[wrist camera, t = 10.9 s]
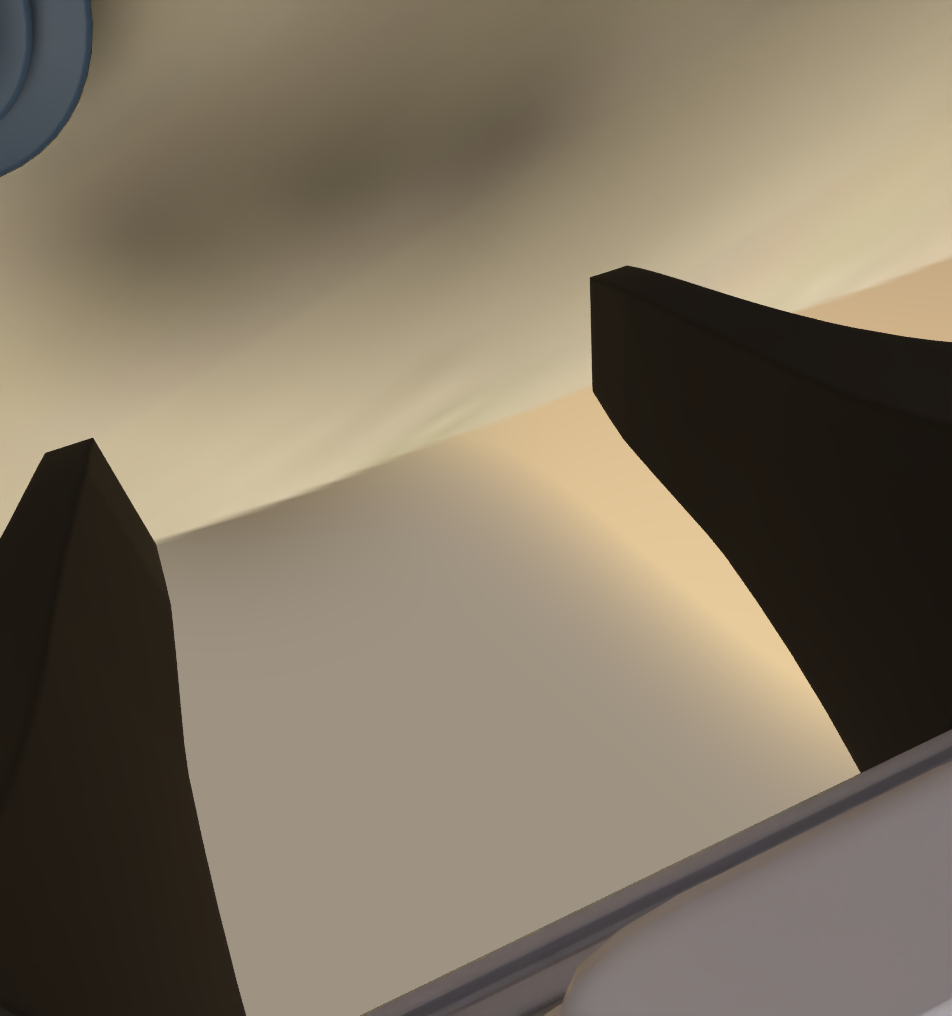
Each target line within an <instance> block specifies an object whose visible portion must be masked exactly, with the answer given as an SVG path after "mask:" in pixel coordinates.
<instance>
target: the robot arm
mask: <svg viewBox="0 0 952 1016" xmlns="http://www.w3.org/2000/svg"><path fill="white" fill-rule="evenodd" d="M590 301H591V344H592V386H593V392H594V394H595V396H596V397H597V399H598V400H599V402H600V404H601V405H602V407H603V409H604V410H605V412H606V413H607V415H608V417H609V418H610V420H611V421H612V423H613V424H614V426H615V427H616V428H617V430H618V432H619V433H620V435H621V436H622V438H623V439H624V440H625V441H626V443H627V444H628V445H629V446H630V447H631V449H632V450H633V451H634V452H635V453H636V454H637V456H638V457H639V458H640V459H641V460H642V461H643V462H644V464H646V466H647V467H648V468H649V469H650V470H651V472H652V473H653V474H654V475H655V476H656V477H657V478H658V479H659V480H660V481H661V483H662V484H663V485H664V486H665V487H666V488H667V490H668V491H669V492H670V493H671V494H672V495H673V496H674V497H675V498H676V500H677V501H678V502H679V503H680V504H681V505H682V506H683V507H684V509H685V510H686V511H687V512H688V513H689V514H690V515H691V516H692V518H693V519H694V520H695V521H696V522H697V523H698V524H699V525H700V526H701V528H702V529H703V530H704V531H705V532H706V533H707V534H708V535H709V537H710V538H711V539H712V540H713V542H714V543H715V544H716V545H717V547H718V548H719V549H720V550H721V552H722V553H723V554H724V555H725V557H726V558H727V559H728V560H729V562H730V564H731V565H732V567H733V568H734V569H735V571H736V572H737V574H738V575H739V576H740V578H741V579H742V581H743V582H744V584H745V585H746V586H747V588H748V589H749V591H750V592H751V593H752V595H753V597H754V598H755V599H756V601H757V602H758V604H759V605H760V607H761V608H762V610H763V611H764V613H765V614H766V616H767V617H768V619H769V620H770V622H771V624H772V625H773V627H774V628H775V630H776V631H777V633H778V634H779V636H780V637H781V639H782V640H783V642H784V643H785V645H786V646H787V648H788V649H789V651H790V652H791V654H792V656H793V657H794V659H795V661H796V662H797V664H798V666H799V667H800V669H801V671H802V672H803V674H804V675H805V677H806V679H807V680H808V682H809V684H810V685H811V687H812V689H813V690H814V692H815V693H816V695H817V697H818V698H819V700H820V702H821V703H822V705H823V707H824V708H825V710H826V712H827V713H828V715H829V717H830V719H831V721H832V722H833V724H834V726H835V728H836V730H837V731H838V733H839V735H840V736H841V738H842V740H843V742H844V744H845V745H846V747H847V749H848V751H849V753H850V754H851V756H852V758H853V760H854V762H855V763H856V765H857V767H858V769H859V771H860V772H861V773H860V774H858V775H856V776H854V777H852V778H850V779H848V780H846V781H844V782H842V783H840V784H838V785H836V786H833V787H832V788H829V789H827V790H825V791H823V792H821V793H819V794H817V795H815V796H813V797H811V798H809V799H807V800H805V801H803V802H800V803H799V804H796V805H794V806H792V807H790V808H788V809H786V810H784V811H782V812H780V813H778V814H776V815H774V816H772V817H770V818H767V819H765V820H763V821H761V822H760V823H757V824H755V825H753V826H751V827H749V828H747V829H745V830H743V831H741V832H739V833H736V834H734V835H732V836H730V837H728V838H726V839H724V840H722V841H720V842H718V843H716V844H714V845H712V846H710V847H708V848H705V849H703V850H701V851H699V852H697V853H695V854H693V855H691V856H689V857H687V858H685V859H683V860H681V861H679V862H676V863H674V864H672V865H670V866H668V867H666V868H664V869H662V870H660V871H658V872H656V873H654V874H652V875H650V876H648V877H646V878H643V879H641V880H639V881H637V882H635V883H633V884H631V885H629V886H627V887H625V888H623V889H621V890H619V891H617V892H615V893H613V894H610V895H608V896H606V897H604V898H602V899H600V900H598V901H596V902H594V903H592V904H590V905H588V906H586V907H584V908H581V909H580V910H577V911H575V912H573V913H571V914H569V915H567V916H565V917H563V918H561V919H559V920H557V921H555V922H553V923H550V924H548V925H546V926H544V927H542V928H540V929H538V930H536V931H534V932H532V933H530V934H528V935H526V936H524V937H522V938H520V939H517V940H515V941H513V942H511V943H509V944H507V945H505V946H503V947H501V948H499V949H497V950H495V951H493V952H491V953H489V954H486V955H484V956H482V957H480V958H478V959H476V960H474V961H472V962H470V963H468V964H466V965H464V966H462V967H460V968H458V969H456V970H453V971H451V972H449V973H447V974H445V975H443V976H441V977H439V978H437V979H435V980H433V981H431V982H429V983H427V984H424V985H423V986H420V987H418V988H416V989H414V990H412V991H410V992H408V993H406V994H404V995H402V996H400V997H398V998H396V999H393V1000H392V1001H389V1002H387V1003H385V1004H383V1005H381V1006H379V1007H377V1008H375V1009H373V1010H371V1011H369V1012H367V1013H365V1014H362V1015H360V1016H952V342H943V341H934V340H926V339H919V338H911V337H904V336H898V335H892V334H887V333H881V332H875V331H869V330H864V329H858V328H852V327H848V326H843V325H838V324H834V323H829V322H825V321H821V320H817V319H813V318H809V317H805V316H801V315H797V314H793V313H789V312H785V311H781V310H778V309H774V308H771V307H767V306H764V305H760V304H757V303H753V302H750V301H747V300H743V299H740V298H737V297H734V296H730V295H727V294H724V293H721V292H717V291H714V290H711V289H708V288H705V287H702V286H699V285H695V284H692V283H689V282H686V281H683V280H680V279H676V278H673V277H670V276H666V275H663V274H660V273H656V272H653V271H649V270H645V269H641V268H636V267H632V266H624V267H621V268H618V269H615V270H612V271H609V272H606V273H603V274H599V275H596V276H593V277H590ZM180 705H181V704H180V694H179V683H178V671H177V661H176V650H175V641H174V630H173V620H172V611H171V604H170V600H169V596H168V591H167V586H166V582H165V578H164V574H163V570H162V566H161V562H160V558H159V554H158V551H157V546H156V544H155V542H154V540H153V539H152V537H151V535H150V533H149V532H148V530H147V528H146V527H145V525H144V523H143V522H142V520H141V518H140V517H139V515H138V513H137V511H136V510H135V508H134V506H133V505H132V503H131V501H130V500H129V498H128V496H127V494H126V493H125V491H124V489H123V488H122V486H121V484H120V483H119V481H118V479H117V478H116V476H115V474H114V472H113V471H112V469H111V467H110V466H109V464H108V462H107V461H106V459H105V457H104V456H103V454H102V452H101V450H100V449H99V447H98V445H97V444H96V442H95V440H94V439H93V438H91V439H87V440H84V441H81V442H78V443H75V444H72V445H69V446H66V447H63V448H60V449H56V450H53V451H50V452H47V453H45V455H44V456H43V458H42V460H41V462H40V463H39V465H38V467H37V469H36V471H35V473H34V475H33V477H32V479H31V481H30V483H29V485H28V487H27V489H26V490H25V492H24V494H23V496H22V498H21V500H20V502H19V504H18V506H17V508H16V510H15V512H14V514H13V516H12V518H11V520H10V521H9V523H8V525H7V527H6V529H5V531H4V533H3V535H2V536H1V538H0V1016H246V1014H245V1010H244V1006H243V1003H242V999H241V995H240V992H239V988H238V984H237V981H236V977H235V973H234V969H233V965H232V961H231V957H230V953H229V949H228V945H227V941H226V937H225V933H224V929H223V925H222V921H221V917H220V913H219V909H218V905H217V901H216V896H215V892H214V888H213V883H212V880H211V875H210V871H209V866H208V862H207V858H206V854H205V849H204V844H203V840H202V836H201V831H200V826H199V822H198V817H197V812H196V807H195V803H194V798H193V793H192V789H191V784H190V779H189V774H188V767H187V760H186V754H185V746H184V737H183V726H182V715H181V706H180Z"/></svg>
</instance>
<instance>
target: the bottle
mask: <svg viewBox="0 0 952 1016" xmlns="http://www.w3.org/2000/svg"><path fill="white" fill-rule="evenodd" d="M92 33H93V21H92V10H91V0H0V177H1V176H3V175H5V174H7V173H9V172H11V171H13V170H15V169H17V168H19V167H21V166H23V165H24V164H26V163H27V162H28V161H30V160H31V159H33V158H34V157H35V156H37V155H38V154H40V153H41V152H42V151H43V150H44V149H45V148H46V147H47V146H48V145H49V144H50V143H51V142H52V141H53V140H54V139H55V138H56V137H57V136H58V134H59V133H60V131H61V130H62V129H63V127H64V126H65V125H66V123H67V122H68V121H69V119H70V117H71V115H72V113H73V111H74V109H75V108H76V106H77V104H78V102H79V100H80V97H81V94H82V91H83V88H84V85H85V82H86V79H87V76H88V70H89V65H90V59H91V53H92Z"/></svg>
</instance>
